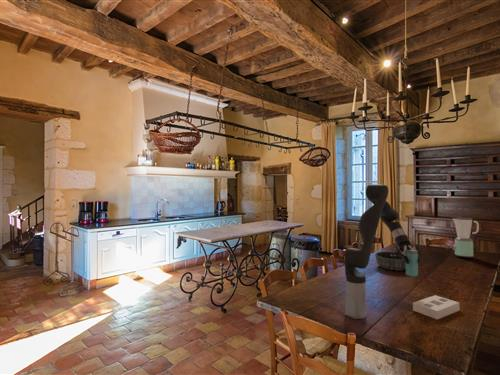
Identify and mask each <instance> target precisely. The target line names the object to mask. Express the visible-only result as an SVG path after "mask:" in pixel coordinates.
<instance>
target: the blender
mask: <svg viewBox="0 0 500 375" xmlns="http://www.w3.org/2000/svg"><path fill="white" fill-rule="evenodd" d="M451 219H452V221H453V223H454V227H455V231H456V235H457V237H456V238H455V239H454V245H452V250H453V251H454V254H455V256H456V258H467V259H469V260H471V258H473V257H474V241H473V239H472V238H471V237H472V235H475V234H478V232H479V229H480V224H479V222H478V220H477V221H476V220H474V218H470V217H465V216H464V217H463V216H461V217H451ZM474 223H476V230H475V231H473V227H474V226H473V225H474Z"/></svg>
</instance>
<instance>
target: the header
mask: <svg viewBox="0 0 500 375" xmlns="http://www.w3.org/2000/svg"><path fill="white" fill-rule="evenodd" d="M413 311H414V312H416V313H419V314H422V315H424V316H427V317H430V318H432V319H434V320H440V319H442V318H444V317H447V316H449V315H451V314H454V313H458V312H459V311H460V302H458V301H455V300H451V299H449V298H445V297H443V296H439V295H436V294H434V295H432V296H429V297H425V298H422V299H420V300H417V301H414V302H412V312H413Z"/></svg>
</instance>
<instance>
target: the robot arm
mask: <svg viewBox="0 0 500 375" xmlns="http://www.w3.org/2000/svg"><path fill="white" fill-rule="evenodd" d="M365 188H366V189H365V197H366V198H367V199H368V200H369V202H370V203H372V204H373V205H372V206H371V207H369V208H368V209H367V210H365V211H364V212H363V213H362V214H361V217H360V219H359V222H358V226H357V227H358V231H359V234H360V237H361V240H362V247H361V249H359V248H355V247H354V248H353V247H347V249H345V252H344V258H343V260H344V272H345V273H344V274H345V277H346V278H345V279H346V282H345V285H346V287H345V288H346V295H345V296H344V299H345V300H344V301H345V302H344V303H345V304H344V305H345V307H344V308H345V309H344V310H345V311H344V312H345V316H347V317H350V318H352V319H354V320H358V319H359V320H360V319H365V318H366V317H367V280H366V279H367V278H366V275H365V274H364V273H362V272H360V271H359V270H358V269H361V270H362V269H366V268H367V267H368V265H369V262H370V258H371V252H372V248H373V243H374V239H375V236H376V233H377V230H378V227H379V222H380V220H381V222H382V223H384V225H385V226H387V228H388V230H389V231H390V233H391V236H392V238H393V240H394V242H395V243H394V244H396V246H395V247H394V248H393V251H394V252H396V253H397V255H398V256H399V257H402V258H403V259H404V261H405V263H406V264H409V260H408V258H407V256H406V254H405V250H408V249H412V250H418V264H420V263H421V259H420V257H419V256H420V255H421V251H420V248H419V246H418V245H415V246H414V245H413V244H412V243H411V240H410V238H409V237H408V235H407V233H406V232H405V230H404V229H403V226H402V225H401V223H400V222H399V221H397V220H398V219H399V213H398V211H397V210H396V209H394V208H392V206H391V204H390V203H389V202H388V201H387V199H388V196H389V186H388V185H386V184H375V183H374V184H368V185H367V186H366V187H365Z"/></svg>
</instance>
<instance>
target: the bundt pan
mask: <svg viewBox="0 0 500 375" xmlns="http://www.w3.org/2000/svg"><path fill="white" fill-rule="evenodd" d="M374 256H375V259H376V263H377V265H378V266H379V267H380V268H382V269H385V270H390V271H393V270H394V271H401V272H402V271H406V263H405V261H404V259H403V258H402V257H399V256H398V255H397V253H396V252H395V251H377V252H375V253H374Z"/></svg>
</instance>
